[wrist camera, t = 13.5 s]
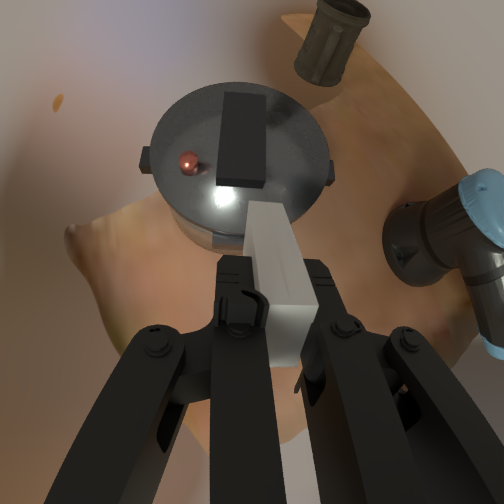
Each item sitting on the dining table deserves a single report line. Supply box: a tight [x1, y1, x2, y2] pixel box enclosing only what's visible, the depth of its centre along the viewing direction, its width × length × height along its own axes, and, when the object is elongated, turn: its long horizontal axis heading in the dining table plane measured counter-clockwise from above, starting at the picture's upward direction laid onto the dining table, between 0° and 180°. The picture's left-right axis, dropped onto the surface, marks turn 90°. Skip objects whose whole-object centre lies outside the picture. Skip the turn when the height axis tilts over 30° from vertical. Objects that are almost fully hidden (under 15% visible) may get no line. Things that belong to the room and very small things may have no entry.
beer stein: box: [294, 0, 371, 87], centre depth 44 cm, size 15×11×20 cm
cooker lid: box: [150, 82, 330, 237], centre depth 32 cm, size 21×21×4 cm
